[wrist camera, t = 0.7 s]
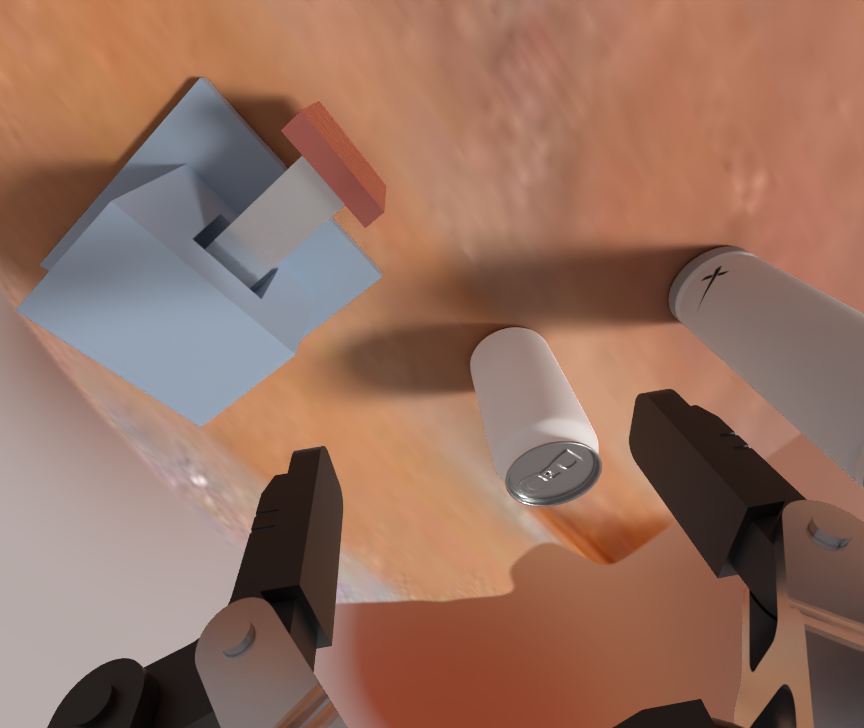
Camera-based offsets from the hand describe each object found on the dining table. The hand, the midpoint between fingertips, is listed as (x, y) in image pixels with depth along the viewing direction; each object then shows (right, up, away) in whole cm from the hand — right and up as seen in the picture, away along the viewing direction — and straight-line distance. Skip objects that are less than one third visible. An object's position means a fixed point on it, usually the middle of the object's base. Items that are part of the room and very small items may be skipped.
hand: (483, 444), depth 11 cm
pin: (-11, +10, +14) cm, 20 cm away
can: (+5, +3, +24) cm, 24 cm away
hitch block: (-15, +9, +17) cm, 25 cm away
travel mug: (+19, +8, +21) cm, 29 cm away
